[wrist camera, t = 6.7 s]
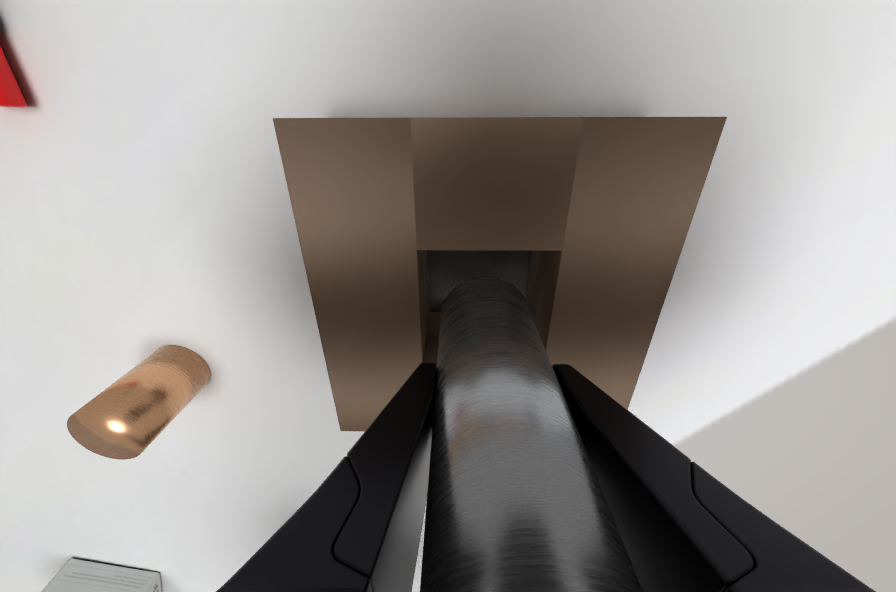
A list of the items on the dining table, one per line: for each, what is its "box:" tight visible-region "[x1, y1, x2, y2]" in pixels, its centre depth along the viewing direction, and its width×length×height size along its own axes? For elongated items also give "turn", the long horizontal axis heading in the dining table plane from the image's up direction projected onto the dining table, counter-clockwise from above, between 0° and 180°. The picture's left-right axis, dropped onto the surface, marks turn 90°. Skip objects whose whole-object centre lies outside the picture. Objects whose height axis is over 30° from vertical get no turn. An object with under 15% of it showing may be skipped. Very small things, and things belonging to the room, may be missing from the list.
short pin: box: [67, 345, 211, 459], centre depth 16 cm, size 3×3×4 cm
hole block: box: [273, 117, 727, 431], centre depth 13 cm, size 12×12×4 cm
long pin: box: [420, 277, 643, 592], centre depth 7 cm, size 3×3×9 cm
